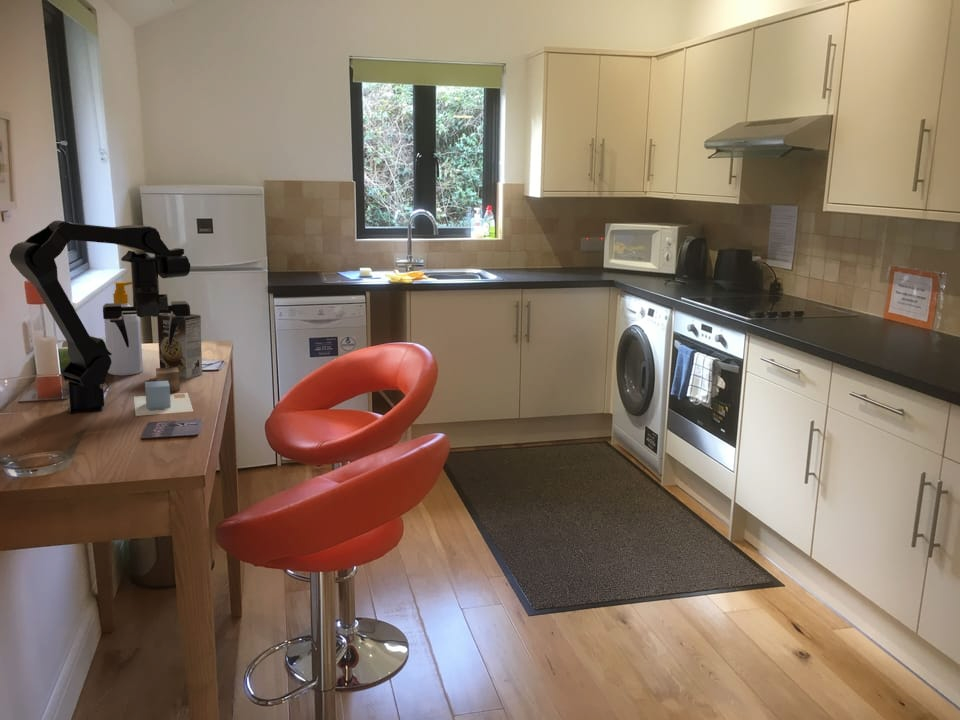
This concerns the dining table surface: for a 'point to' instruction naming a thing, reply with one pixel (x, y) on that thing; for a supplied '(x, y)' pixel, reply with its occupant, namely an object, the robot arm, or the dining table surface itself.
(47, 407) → the dining table surface
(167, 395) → the blue cube
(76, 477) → the dining table surface
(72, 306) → the robot arm
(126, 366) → the soap bottle
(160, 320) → the coffee box
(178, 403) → the letter
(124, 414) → the dining table surface
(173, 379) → the walnut block
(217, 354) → the dining table surface
